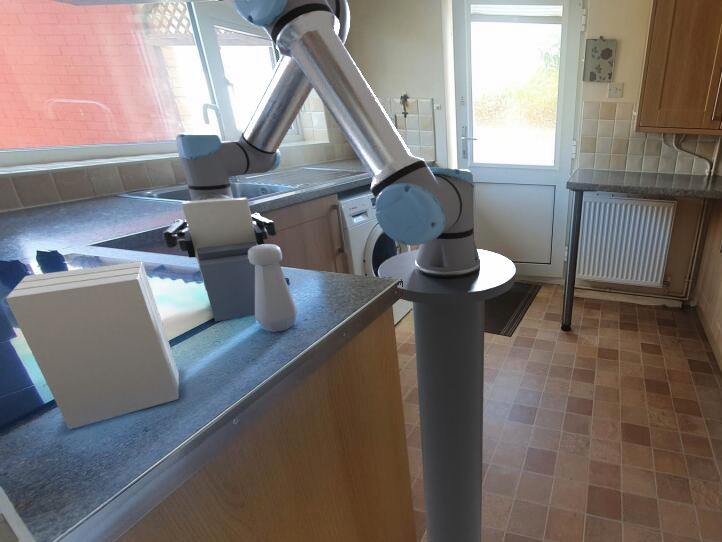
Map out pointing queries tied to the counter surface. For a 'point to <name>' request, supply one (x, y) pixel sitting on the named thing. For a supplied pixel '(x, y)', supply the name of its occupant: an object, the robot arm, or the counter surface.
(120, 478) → the counter surface
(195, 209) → the white book
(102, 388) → the white books
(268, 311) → the salt shaker
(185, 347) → the counter surface
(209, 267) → the grey upright block
